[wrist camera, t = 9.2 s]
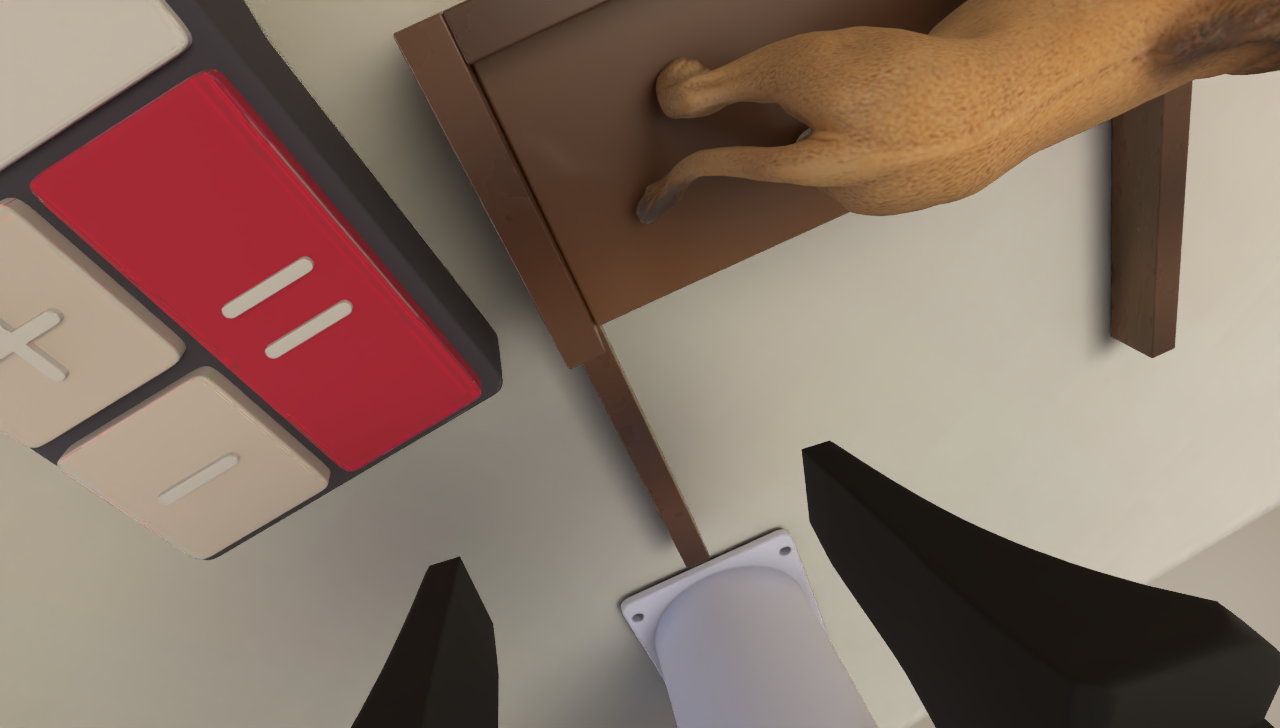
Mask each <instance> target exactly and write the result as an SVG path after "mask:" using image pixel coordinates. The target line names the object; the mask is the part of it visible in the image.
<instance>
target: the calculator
mask: <svg viewBox="0 0 1280 728" xmlns="http://www.w3.org/2000/svg"><path fill="white" fill-rule="evenodd" d="M502 383H503V379H502V369H501V361H500V352H499V345H498V338H497V335H496V333H495V332H494V330H493V329H492V327H491V326H490V325H489V324H488V322H487V321H486V320H485V318H484V317H483V316H482V315H481V313H480V312H479V311H478V309H477V308H476V307H475V306H474V304H473V303H472V302H471V300H470V299H469V298H468V297H467V295H466V294H465V293H464V291H463V290H462V289H461V288H460V286H459V285H458V284H457V282H456V281H455V280H454V279H453V277H452V276H451V275H450V273H449V272H448V271H447V270H446V268H445V267H444V266H443V265H442V263H441V262H440V261H439V259H438V258H437V257H436V256H435V254H434V253H433V252H432V250H431V249H430V248H429V247H428V245H427V244H426V243H425V241H424V240H423V239H422V238H421V236H420V235H419V234H418V232H417V231H416V230H415V229H414V227H413V226H412V225H411V223H410V222H409V221H408V220H407V218H406V217H405V216H404V215H403V213H402V212H401V211H400V209H399V208H398V207H397V206H396V204H395V203H394V202H393V200H392V199H391V198H390V197H389V195H388V194H387V193H386V191H385V190H384V189H383V188H382V186H381V185H380V184H379V182H378V181H377V180H376V179H375V177H374V176H373V175H372V173H371V172H370V171H369V170H368V168H367V167H366V166H365V164H364V163H363V162H362V161H361V159H360V158H359V157H358V156H357V154H356V153H355V152H354V150H353V149H352V148H351V147H350V145H349V144H348V143H347V141H346V140H345V139H344V138H343V136H342V135H341V134H340V132H339V131H338V130H337V129H336V127H335V126H334V125H333V123H332V122H331V121H330V120H329V118H328V117H327V116H326V114H325V113H324V112H323V111H322V109H321V108H320V107H319V106H318V104H317V103H316V102H315V100H314V99H313V98H312V97H311V95H310V94H309V93H308V91H307V90H306V89H305V88H304V86H303V85H302V84H301V82H300V81H299V80H298V79H297V77H296V76H295V75H294V73H293V72H292V71H291V70H290V68H289V67H288V66H287V64H286V63H285V62H284V61H283V59H282V58H281V57H280V55H279V54H278V53H277V52H276V50H275V49H274V48H273V47H272V45H271V44H270V43H269V41H268V40H267V38H266V37H265V35H264V34H263V32H262V30H261V29H260V27H259V25H258V24H257V22H256V20H255V19H254V17H253V15H252V14H251V12H250V10H249V9H248V7H247V5H246V4H245V2H244V0H0V431H1V432H3V433H4V434H6V435H7V436H9V437H10V438H12V439H13V440H15V441H17V442H18V443H20V444H22V445H24V446H27V447H29V448H31V449H32V450H34V451H35V452H37V453H38V454H40V455H41V456H43V457H45V458H46V459H48V460H49V461H51V462H52V463H54V464H55V465H57V466H58V467H59V469H60V470H62V471H63V472H64V473H65V474H66V475H68V476H69V477H71V478H72V479H74V480H75V481H77V482H78V483H80V484H81V485H83V486H84V487H86V488H87V489H89V490H90V491H92V492H93V493H95V494H96V495H98V496H99V497H101V498H102V499H104V500H105V501H107V502H108V503H110V504H112V505H113V506H115V507H116V508H118V509H119V510H121V511H122V512H124V513H125V514H127V515H128V516H130V517H131V518H133V519H134V520H136V521H137V522H139V523H140V524H142V525H143V526H145V527H146V528H148V529H149V530H151V531H152V532H154V533H155V534H157V535H158V536H160V537H161V538H163V539H164V540H166V541H167V542H169V543H170V544H172V545H173V546H175V547H176V548H178V549H179V550H181V551H182V552H184V553H185V554H187V555H189V556H191V557H193V558H195V559H198V560H211V559H215V558H217V557H219V556H221V555H222V554H224V553H226V552H228V551H229V550H231V549H233V548H235V547H236V546H238V545H240V544H241V543H243V542H245V541H246V540H248V539H250V538H252V537H253V536H255V535H257V534H258V533H260V532H262V531H263V530H265V529H267V528H269V527H270V526H272V525H274V524H275V523H277V522H279V521H280V520H282V519H284V518H286V517H287V516H289V515H291V514H292V513H294V512H296V511H297V510H299V509H301V508H303V507H304V506H306V505H308V504H309V503H311V502H313V501H314V500H316V499H318V498H320V497H321V496H323V495H325V494H326V493H328V492H330V491H331V490H333V489H335V488H337V487H338V486H340V485H342V484H343V483H345V482H347V481H348V480H350V479H352V478H354V477H355V476H357V475H359V474H360V473H362V472H364V471H365V470H367V469H369V468H371V467H372V466H374V465H376V464H377V463H379V462H381V461H382V460H384V459H386V458H388V457H389V456H391V455H393V454H394V453H396V452H398V451H399V450H401V449H403V448H404V447H406V446H408V445H410V444H411V443H413V442H415V441H416V440H418V439H420V438H421V437H423V436H425V435H427V434H428V433H430V432H432V431H433V430H435V429H437V428H438V427H440V426H442V425H444V424H445V423H447V422H449V421H450V420H452V419H454V418H455V417H457V416H459V415H461V414H462V413H464V412H466V411H467V410H469V409H471V408H472V407H474V406H476V405H478V404H479V403H481V402H483V401H484V400H486V399H488V398H489V397H491V396H493V395H494V394H496V393H497V392H498V391H499V390H500V389H501V387H502Z"/></svg>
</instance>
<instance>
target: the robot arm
mask: <svg viewBox="0 0 1280 728" xmlns="http://www.w3.org/2000/svg"><path fill="white" fill-rule="evenodd" d="M802 456H803V465H804V474H805V483H806V492H807V502H808V511H809V520H810V523H811V525H812V527H813V529H814V531H815V533H816V535H817V537H818V539H819V541H820V543H821V545H822V547H823V548H824V550H825V552H826V554H827V556H828V558H829V560H830V561H831V563H832V565H833V566H834V568H835V569H836V571H837V572H838V574H839V575H840V577H841V578H842V580H843V581H844V583H845V584H846V586H847V587H848V589H849V590H850V592H851V593H852V594H853V596H854V597H855V599H856V600H857V602H858V603H859V605H860V606H861V608H862V609H863V610H864V612H865V613H866V615H867V616H868V618H869V619H870V621H871V622H872V623H873V625H874V626H875V628H876V629H877V631H878V632H879V634H880V635H881V637H882V638H883V639H884V641H885V642H886V644H887V645H888V647H889V648H890V650H891V651H892V652H893V654H894V656H895V657H896V659H897V660H898V662H899V663H900V665H901V667H902V668H903V670H904V671H905V673H906V675H907V676H908V678H909V680H910V682H911V684H912V685H913V687H914V689H915V691H916V692H917V694H918V696H919V698H920V700H921V701H922V703H923V705H924V707H925V709H926V710H927V712H928V714H929V716H930V718H931V719H932V721H933V723H934V725H935V727H936V728H1274V727H1273V726H1272V725H1271V724H1270V723H1269V722H1268V721H1267V720H1265V719H1264V717H1265V715H1266V713H1267V711H1268V709H1269V707H1270V705H1271V702H1272V700H1273V698H1274V696H1275V694H1276V692H1277V689H1278V687H1279V685H1280V652H1279V651H1278V650H1277V649H1276V648H1275V647H1274V646H1273V645H1271V644H1270V643H1269V642H1268V641H1266V640H1265V639H1264V638H1263V637H1262V636H1260V635H1259V634H1258V633H1257V632H1256V631H1254V630H1253V629H1252V628H1251V627H1249V626H1248V625H1247V624H1246V623H1245V622H1244V621H1242V620H1241V619H1240V618H1238V617H1237V616H1236V615H1234V614H1233V613H1232V612H1230V611H1229V610H1228V609H1226V608H1225V607H1224V606H1222V605H1221V604H1219V603H1218V602H1217V601H1212V600H1208V599H1204V598H1199V597H1195V596H1191V595H1186V594H1182V593H1177V592H1173V591H1169V590H1164V589H1160V588H1156V587H1151V586H1147V585H1143V584H1139V583H1136V582H1132V581H1129V580H1125V579H1122V578H1118V577H1115V576H1111V575H1108V574H1104V573H1101V572H1097V571H1094V570H1091V569H1088V568H1085V567H1082V566H1078V565H1075V564H1072V563H1069V562H1066V561H1064V560H1061V559H1058V558H1055V557H1052V556H1050V555H1047V554H1044V553H1041V552H1038V551H1035V550H1033V549H1030V548H1028V547H1025V546H1023V545H1020V544H1017V543H1015V542H1013V541H1010V540H1008V539H1006V538H1003V537H1001V536H999V535H996V534H994V533H992V532H989V531H987V530H985V529H982V528H980V527H978V526H976V525H974V524H972V523H969V522H967V521H965V520H963V519H961V518H959V517H957V516H955V515H953V514H951V513H950V512H948V511H946V510H944V509H942V508H940V507H938V506H936V505H934V504H933V503H931V502H929V501H927V500H925V499H923V498H922V497H920V496H918V495H917V494H915V493H913V492H911V491H910V490H908V489H906V488H905V487H903V486H901V485H899V484H898V483H896V482H894V481H893V480H891V479H889V478H888V477H886V476H884V475H883V474H881V473H880V472H878V471H877V470H875V469H873V468H872V467H870V466H869V465H867V464H865V463H864V462H862V461H861V460H859V459H858V458H856V457H855V456H853V455H851V454H850V453H848V452H847V451H845V450H844V449H842V448H841V447H839V446H838V445H836V444H834V443H833V442H831V441H827V442H824V443H821V444H817V445H814V446H811V447H808V448H805V449H802ZM783 547H785V548H783ZM782 548H783V549H782ZM621 609H622V613H623V615H624V617H625V619H626V620H627V622H628V623H629V625H630V627H631V628H632V630H633V631H634V633H635V635H636V636H637V638H638V639H639V641H640V643H641V644H642V646H643V647H644V649H645V651H646V652H647V654H648V655H649V657H650V659H651V660H652V662H653V663H654V665H655V667H656V668H657V670H658V671H659V673H660V675H661V676H662V678H663V679H664V681H665V683H666V687H667V691H668V694H669V698H670V701H671V705H672V709H673V712H674V716H675V720H676V723H677V727H678V728H878V726H877V724H876V723H875V721H874V719H873V717H872V715H871V714H870V712H869V710H868V708H867V706H866V705H865V703H864V701H863V699H862V697H861V696H860V694H859V692H858V690H857V688H856V686H855V685H854V683H853V681H852V679H851V677H850V676H849V674H848V672H847V670H846V668H845V667H844V665H843V663H842V661H841V659H840V658H839V656H838V654H837V652H836V650H835V649H834V647H833V645H832V643H831V641H830V639H829V636H828V633H827V630H826V628H825V625H824V622H823V620H822V617H821V614H820V612H819V609H818V606H817V603H816V601H815V598H814V595H813V593H812V590H811V587H810V584H809V582H808V579H807V576H806V574H805V571H804V568H803V565H802V563H801V560H800V557H799V555H798V552H797V549H796V547H795V544H794V541H793V538H792V537H791V535H790V533H789V532H788V531H787V530H785V529H779V530H776V531H774V532H772V533H769V534H767V535H765V536H763V537H761V538H758V539H756V540H754V541H752V542H750V543H747V544H745V545H743V546H741V547H739V548H736V549H734V550H732V551H730V552H727V553H725V554H723V555H721V556H719V557H716V558H714V559H712V560H710V561H708V562H705V563H703V564H701V565H699V566H697V567H694V568H692V569H690V570H688V571H686V572H683V573H681V574H679V575H677V576H675V577H672V578H670V579H668V580H666V581H664V582H661V583H659V584H657V585H655V586H653V587H650V588H648V589H646V590H644V591H641V592H639V593H637V594H635V595H633V596H630V597H628V598H627V599H625V600H624V601H623V602H622V604H621ZM638 613H639V614H638ZM635 614H637V615H635ZM351 728H498V664H497V654H496V645H495V636H494V628H493V623H492V621H491V619H490V617H489V614H488V612H487V610H486V608H485V606H484V604H483V602H482V600H481V598H480V596H479V594H478V592H477V590H476V588H475V586H474V584H473V582H472V580H471V578H470V576H469V574H468V572H467V570H466V568H465V566H464V564H463V562H462V560H461V558H460V557H457V558H453V559H450V560H447V561H444V562H441V563H437V564H434V565H431V566H429V568H428V570H427V571H426V573H425V576H424V578H423V581H422V583H421V585H420V588H419V590H418V592H417V595H416V597H415V599H414V602H413V604H412V606H411V609H410V611H409V613H408V616H407V618H406V620H405V622H404V625H403V627H402V629H401V631H400V633H399V636H398V638H397V640H396V642H395V644H394V646H393V648H392V650H391V652H390V655H389V657H388V659H387V661H386V663H385V665H384V667H383V669H382V671H381V673H380V675H379V677H378V679H377V681H376V682H375V684H374V686H373V688H372V690H371V692H370V694H369V696H368V698H367V699H366V701H365V703H364V705H363V707H362V709H361V711H360V712H359V714H358V716H357V718H356V720H355V721H354V723H353V725H352V726H351Z"/></svg>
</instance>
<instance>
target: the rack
mask: <svg viewBox="0 0 1280 728" xmlns="http://www.w3.org/2000/svg"><path fill="white" fill-rule="evenodd" d="M966 1H968V0H466V1H464V2H462V3H460V4H457V5H455V6H453V7H451V8H449V9H446V10H444V11H443V12H440V13H438V14H435V15H433V16H431V17H429V18H427V19H424V20H422V21H420V22H418V23H416V24H413V25H411V26H409V27H407V28H405V29H402V30H400V31H398V32H396V33H394V35H393V36H394V39H395V41H396V42H397V44H398V46H399V48H400V50H401V52H402V54H403V56H404V58H405V60H406V61H407V63H408V65H409V67H410V69H411V71H412V73H413V75H414V77H415V78H416V80H417V82H418V84H419V86H420V88H421V90H422V92H423V94H424V96H425V97H426V99H427V101H428V103H429V105H430V107H431V109H432V111H433V113H434V114H435V116H436V118H437V120H438V122H439V124H440V126H441V128H442V130H443V132H444V133H445V135H446V137H447V139H448V141H449V143H450V145H451V147H452V149H453V150H454V152H455V154H456V156H457V158H458V160H459V162H460V164H461V166H462V168H463V169H464V171H465V173H466V175H467V177H468V179H469V181H470V183H471V185H472V187H473V188H474V190H475V192H476V194H477V196H478V198H479V200H480V202H481V204H482V205H483V207H484V209H485V211H486V213H487V215H488V217H489V219H490V221H491V223H492V224H493V226H494V228H495V230H496V232H497V234H498V236H499V238H500V240H501V241H502V243H503V245H504V247H505V249H506V251H507V253H508V255H509V257H510V259H511V260H512V262H513V264H514V266H515V268H516V270H517V272H518V274H519V276H520V278H521V279H522V281H523V283H524V285H525V287H526V289H527V291H528V293H529V295H530V296H531V298H532V300H533V302H534V304H535V306H536V308H537V310H538V312H539V314H540V315H541V317H542V319H543V321H544V323H545V325H546V327H547V329H548V331H549V332H550V334H551V336H552V338H553V340H554V342H555V344H556V346H557V348H558V350H559V351H560V353H561V355H562V357H563V359H564V361H565V363H566V365H567V367H568V368H569V369H572V368H574V367H577V366H579V365H581V364H583V365H584V367H585V369H586V371H587V373H588V375H589V377H590V379H591V381H592V383H593V385H594V387H595V389H596V391H597V393H598V395H599V397H600V399H601V401H602V403H603V405H604V407H605V409H606V410H607V412H608V414H609V416H610V418H611V420H612V422H613V424H614V426H615V428H616V430H617V432H618V434H619V436H620V438H621V440H622V442H623V444H624V446H625V448H626V450H627V452H628V454H629V455H630V457H631V459H632V461H633V463H634V465H635V467H636V469H637V471H638V473H639V475H640V477H641V479H642V481H643V483H644V485H645V487H646V489H647V491H648V493H649V495H650V497H651V498H652V500H653V502H654V504H655V506H656V508H657V510H658V512H659V514H660V516H661V518H662V520H663V522H664V524H665V526H666V528H667V530H668V532H669V534H670V536H671V538H672V540H673V542H674V543H675V545H676V547H677V549H678V551H679V553H680V555H681V557H682V559H683V561H684V563H685V565H686V567H687V568H688V569H689V568H691V567H693V566H695V565H698V564H700V563H702V562H704V561H706V560H709V559H710V556H709V553H708V551H707V549H706V546H705V544H704V542H703V539H702V537H701V534H700V532H699V530H698V527H697V525H696V523H695V521H694V519H693V516H692V514H691V512H690V510H689V508H688V506H687V504H686V502H685V500H684V497H683V495H682V493H681V491H680V489H679V487H678V485H677V483H676V481H675V479H674V476H673V474H672V472H671V470H670V468H669V466H668V464H667V462H666V460H665V457H664V455H663V453H662V451H661V449H660V447H659V445H658V443H657V441H656V439H655V436H654V434H653V432H652V430H651V428H650V426H649V424H648V422H647V420H646V417H645V415H644V413H643V411H642V409H641V407H640V405H639V403H638V401H637V398H636V396H635V394H634V392H633V390H632V388H631V386H630V384H629V382H628V380H627V377H626V375H625V373H624V371H623V369H622V367H621V365H620V363H619V361H618V358H617V356H616V354H615V352H614V350H613V348H612V346H611V344H610V342H609V340H608V337H607V335H606V333H605V331H604V329H603V327H602V324H604V323H606V322H608V321H610V320H613V319H615V318H617V317H619V316H621V315H624V314H626V313H628V312H630V311H632V310H635V309H637V308H639V307H641V306H643V305H646V304H648V303H650V302H652V301H654V300H657V299H659V298H661V297H663V296H665V295H668V294H670V293H672V292H674V291H676V290H679V289H681V288H683V287H685V286H687V285H690V284H692V283H694V282H696V281H698V280H701V279H703V278H705V277H707V276H709V275H712V274H714V273H716V272H718V271H720V270H723V269H725V268H727V267H729V266H731V265H734V264H736V263H738V262H740V261H742V260H745V259H747V258H749V257H751V256H753V255H756V254H758V253H760V252H762V251H764V250H767V249H769V248H771V247H773V246H775V245H778V244H780V243H782V242H784V241H786V240H789V239H791V238H793V237H795V236H798V235H800V234H802V233H804V232H806V231H809V230H811V229H813V228H815V227H817V226H820V225H822V224H824V223H826V222H828V221H831V220H833V219H835V218H837V217H839V216H842V215H844V214H846V213H848V212H850V211H848V210H846V209H845V208H844V207H842V206H841V205H840V204H839V203H838V202H837V201H835V200H834V199H832V198H831V197H829V196H827V195H826V194H824V193H823V192H821V191H820V190H819V189H818V188H817V187H816V186H802V185H797V184H791V183H775V182H766V181H757V180H751V179H747V178H739V177H730V176H701V177H698V178H697V179H695V180H693V181H692V182H691V183H690V184H689V186H688V187H687V188H686V190H685V191H684V193H683V196H682V198H681V200H680V201H678V202H677V203H676V204H675V205H674V206H672V207H670V208H668V209H667V210H666V211H665V212H663V213H662V214H661V215H660V216H659V217H658V218H657V219H656V220H654V221H653V222H652V223H649V224H645V223H642V222H641V221H640V219H639V218H638V217H637V210H636V209H637V206H638V203H639V201H640V200H641V199H642V197H643V196H644V194H645V191H646V188H647V187H648V186H649V185H650V184H652V183H654V182H656V181H658V180H660V179H662V178H664V177H665V176H666V175H667V174H668V173H669V172H670V171H671V170H672V169H673V167H674V166H675V165H676V164H678V163H679V162H680V161H681V160H682V159H683V158H685V157H687V156H689V155H691V154H693V153H695V152H697V151H700V150H705V149H713V148H720V147H733V146H755V147H778V146H787V145H791V144H794V143H796V141H797V139H798V138H799V136H800V135H801V134H802V133H803V132H804V131H806V130H807V129H809V127H808V126H807V125H806V124H804V123H802V122H800V121H799V120H797V119H796V118H794V117H793V116H791V115H789V114H788V113H786V112H785V111H784V109H783V108H782V107H781V106H780V105H778V104H777V103H757V102H736V103H733V104H730V105H727V106H725V107H724V108H722V109H721V110H719V111H717V112H715V113H712V114H710V115H708V116H703V117H697V118H676V119H674V118H669V117H668V116H667V115H666V114H664V112H663V111H662V108H661V106H660V104H659V101H658V99H657V94H656V82H657V78H658V76H659V74H660V73H661V71H662V70H663V69H664V68H665V67H666V66H667V65H668V64H669V63H671V62H672V61H674V60H676V59H678V58H682V57H685V58H688V59H692V60H697V61H699V62H700V63H701V64H702V65H703V66H705V67H706V68H708V69H710V70H711V71H712V70H714V69H717V68H719V67H721V66H724V65H726V64H728V63H730V62H732V61H734V60H736V59H738V58H740V57H742V56H745V55H747V54H749V53H751V52H753V51H755V50H757V49H759V48H761V47H764V46H766V45H769V44H772V43H775V42H777V41H780V40H783V39H787V38H790V37H793V36H796V35H799V34H804V33H809V32H815V31H832V30H838V29H844V28H849V27H857V26H868V27H882V28H896V29H903V30H908V31H912V32H917V33H921V34H926V35H928V34H929V32H930V31H931V30H932V29H933V28H934V27H935V26H936V25H937V24H938V23H939V22H941V21H942V20H943V19H944V18H945V17H947V16H948V15H949V14H950V13H952V12H953V11H954V10H955V9H957V8H958V7H959V6H961V5H962V4H963V3H965V2H966ZM1191 95H1192V81H1190V82H1188V83H1186V84H1184V85H1181V86H1179V87H1177V88H1175V89H1173V90H1171V91H1169V92H1167V93H1165V94H1163V95H1160V96H1158V97H1156V98H1154V99H1151V100H1149V101H1147V102H1145V103H1143V104H1141V105H1139V106H1137V107H1135V108H1133V109H1131V110H1129V111H1127V112H1125V113H1122V114H1120V115H1118V116H1116V117H1114V118H1112V295H1111V336H1112V337H1113V338H1115V339H1117V340H1119V341H1120V342H1122V343H1124V344H1126V345H1128V346H1130V347H1132V348H1134V349H1136V350H1137V351H1139V352H1141V353H1143V354H1145V355H1147V356H1149V357H1151V358H1154V357H1156V356H1158V355H1161V354H1163V353H1165V352H1167V351H1169V350H1172V349H1174V348H1175V337H1176V321H1177V306H1178V291H1179V276H1180V261H1181V246H1182V231H1183V216H1184V201H1185V185H1186V170H1187V155H1188V140H1189V125H1190V110H1191Z"/></svg>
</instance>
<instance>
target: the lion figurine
mask: <svg viewBox="0 0 1280 728" xmlns="http://www.w3.org/2000/svg"><path fill="white" fill-rule="evenodd" d="M1278 70H1280V0H968V1H966V2H965V3H963V4H962V5H961V6H959V7H958V8H957V9H955V10H954V11H953V12H952V13H950V14H949V15H948V16H947V17H945V18H944V19H943V20H942V21H941V22H939V23H938V24H937V25H936V26H935V27H934V28H933V29H932V30H931V31H930V32H929V34H928V35H926V34H921V33H917V32H912V31H908V30H903V29H896V28H882V27H868V26H857V27H849V28H844V29H838V30H832V31H815V32H809V33H804V34H799V35H796V36H793V37H790V38H787V39H783V40H780V41H777V42H775V43H772V44H769V45H766V46H764V47H761V48H759V49H757V50H755V51H753V52H751V53H749V54H747V55H745V56H742V57H740V58H738V59H736V60H734V61H732V62H730V63H728V64H726V65H724V66H721V67H719V68H717V69H714V70H712V71H711V70H710V69H708V68H706V67H705V66H703V65H702V64H701V63H700V62H699V61H697V60H692V59H688V58H685V57H682V58H678V59H676V60H674V61H672V62H671V63H669V64H668V65H667V66H666V67H665V68H664V69H663V70H662V71H661V73H660V74H659V76H658V78H657V82H656V94H657V99H658V101H659V104H660V106H661V108H662V111H663V112H664V114H666V115H667V116H668V117H669V118H674V119H676V118H697V117H703V116H708V115H710V114H712V113H715V112H717V111H719V110H721V109H722V108H724V107H725V106H727V105H730V104H733V103H736V102H757V103H777V104H778V105H780V106H781V107H782V108H783V109H784V111H785V112H786V113H788V114H789V115H791V116H793V117H794V118H796V119H797V120H799V121H800V122H802V123H804V124H806V125H807V126H808V127H809V129H807V130H806V131H804V132H803V133H802V134H801V135H800V136H799V138H798V139H797V141H796V143H794V144H791V145H787V146H778V147H755V146H733V147H720V148H713V149H705V150H700V151H697V152H695V153H693V154H691V155H689V156H687V157H685V158H683V159H682V160H681V161H680V162H679V163H678V164H676V165H675V166H674V167H673V169H672V170H671V171H670V172H669V173H668V174H667V175H666V176H665V177H664V178H662V179H660V180H658V181H656V182H654V183H652V184H650V185H649V186H648V187H647V188H646V191H645V194H644V196H643V197H642V199H641V200H640V201H639V203H638V206H637V209H636V210H637V217H638V218H639V219H640V221H641V222H642V223H645V224H649V223H652V222H653V221H654V220H656V219H657V218H658V217H659V216H660V215H661V214H662V213H663V212H665V211H666V210H667V209H668V208H670V207H672V206H674V205H675V204H676V203H677V202H678V201H680V200H681V198H682V196H683V193H684V191H685V190H686V188H687V187H688V186H689V184H690V183H691V182H692V181H693V180H695V179H697V178H698V177H701V176H730V177H739V178H747V179H751V180H757V181H766V182H775V183H791V184H797V185H802V186H816V187H817V188H818V189H819V190H820V191H821V192H823V193H824V194H826V195H827V196H829V197H831V198H832V199H834V200H835V201H837V202H838V203H839V204H840V205H841V206H842V207H844V208H845V209H846V210H848V211H850V212H853V213H856V214H862V215H871V216H886V215H897V214H902V213H908V212H913V211H918V210H922V209H926V208H929V207H932V206H936V205H939V204H945V203H950V202H953V201H957V200H960V199H963V198H965V197H968V196H970V195H973V194H975V193H977V192H979V191H980V190H982V189H983V188H985V187H986V186H988V185H989V184H991V183H992V182H993V181H995V180H996V179H998V178H999V177H1000V176H1002V175H1003V174H1005V173H1006V172H1007V171H1009V170H1010V169H1012V168H1013V167H1015V166H1016V165H1017V164H1019V163H1020V162H1022V161H1023V160H1025V159H1026V158H1028V157H1029V156H1031V155H1033V154H1035V153H1036V152H1038V151H1040V150H1043V149H1045V148H1047V147H1050V146H1052V145H1054V144H1056V143H1058V142H1060V141H1063V140H1065V139H1067V138H1069V137H1072V136H1074V135H1076V134H1079V133H1081V132H1084V131H1086V130H1088V129H1091V128H1093V127H1095V126H1097V125H1099V124H1101V123H1103V122H1105V121H1107V120H1110V119H1112V118H1114V117H1116V116H1118V115H1120V114H1122V113H1125V112H1127V111H1129V110H1131V109H1133V108H1135V107H1137V106H1139V105H1141V104H1143V103H1145V102H1147V101H1149V100H1151V99H1154V98H1156V97H1158V96H1160V95H1163V94H1165V93H1167V92H1169V91H1171V90H1173V89H1175V88H1177V87H1179V86H1181V85H1184V84H1186V83H1188V82H1190V81H1192V80H1194V79H1202V78H1210V77H1214V76H1218V75H1222V74H1230V75H1250V74H1260V73H1265V72H1271V71H1278Z"/></svg>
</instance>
